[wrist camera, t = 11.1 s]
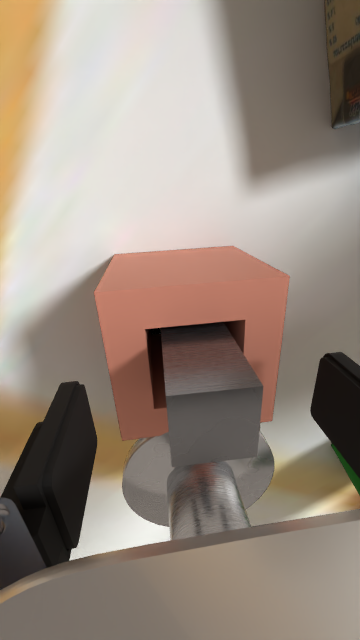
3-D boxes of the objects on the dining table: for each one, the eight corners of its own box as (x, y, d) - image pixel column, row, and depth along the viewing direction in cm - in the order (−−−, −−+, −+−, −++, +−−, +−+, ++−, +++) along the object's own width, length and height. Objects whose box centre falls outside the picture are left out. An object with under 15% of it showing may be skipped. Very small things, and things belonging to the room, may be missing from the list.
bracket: (232, 245, 18) (289, 276, 11) (228, 373, 23) (268, 454, 16) (114, 254, 18) (94, 292, 11) (133, 384, 22) (128, 474, 15)
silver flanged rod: (236, 341, 22) (421, 629, 7) (232, 425, 25) (349, 726, 11) (122, 352, 21) (71, 702, 6) (136, 437, 25) (123, 781, 10)
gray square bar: (199, 283, 19) (263, 386, 8) (200, 322, 20) (257, 456, 9) (157, 286, 19) (165, 395, 8) (160, 325, 20) (171, 467, 9)
